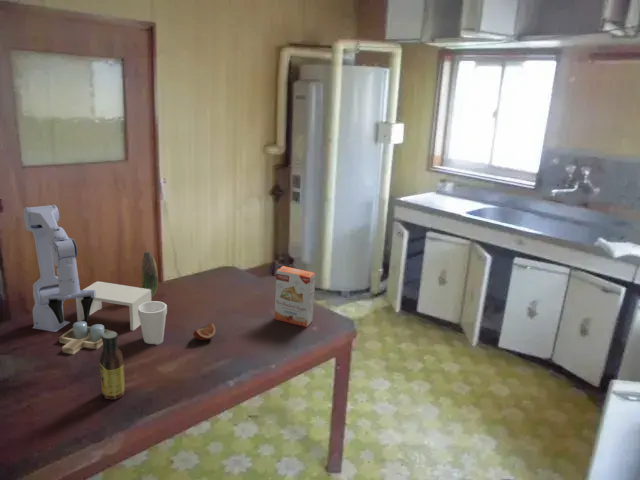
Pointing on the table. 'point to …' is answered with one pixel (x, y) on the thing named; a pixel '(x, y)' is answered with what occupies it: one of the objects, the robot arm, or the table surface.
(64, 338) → the serving board
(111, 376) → the sauce bottle
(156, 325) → the foam cup
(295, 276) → the cracker box
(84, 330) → the pale blue rounded cylinder
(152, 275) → the vegetable
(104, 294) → the shelf
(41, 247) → the robot arm
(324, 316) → the table surface
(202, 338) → the fruit slice
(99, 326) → the grey-blue tapered cylinder
